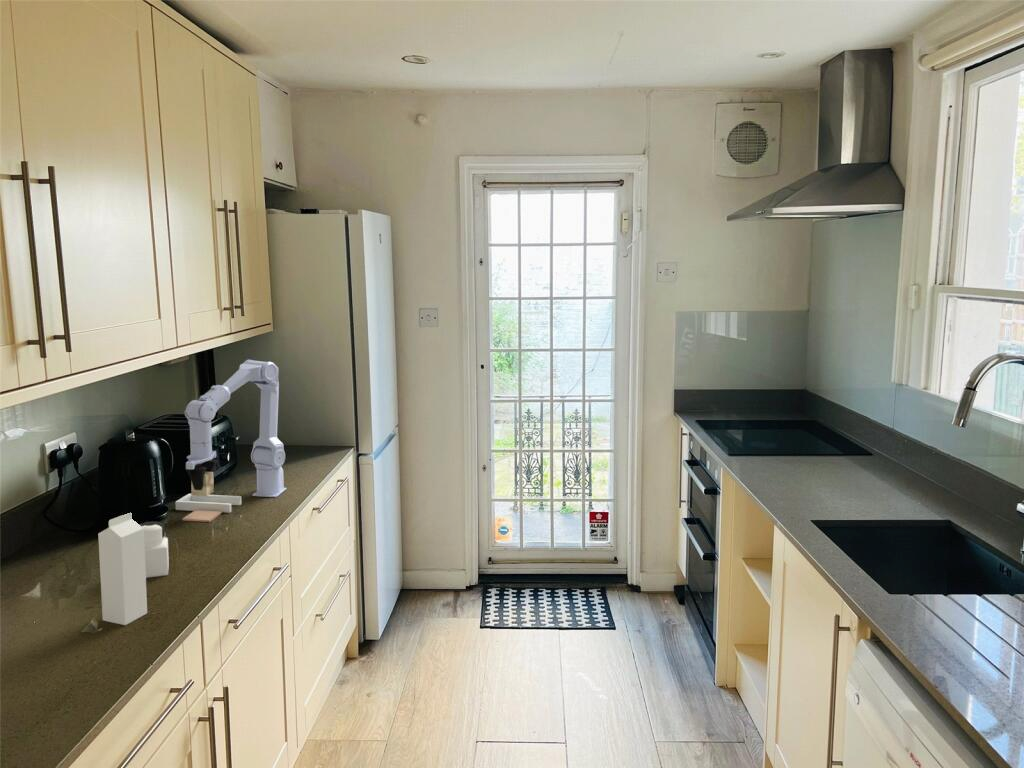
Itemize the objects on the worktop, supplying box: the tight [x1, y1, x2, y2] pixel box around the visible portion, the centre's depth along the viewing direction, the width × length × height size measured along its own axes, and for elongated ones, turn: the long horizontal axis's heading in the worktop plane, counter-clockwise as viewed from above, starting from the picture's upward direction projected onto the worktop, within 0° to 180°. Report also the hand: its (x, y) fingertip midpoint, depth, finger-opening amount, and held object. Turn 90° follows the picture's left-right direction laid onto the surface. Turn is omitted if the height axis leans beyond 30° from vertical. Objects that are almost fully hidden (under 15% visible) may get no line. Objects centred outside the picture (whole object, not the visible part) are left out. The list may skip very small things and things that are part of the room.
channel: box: [175, 493, 243, 513], centre depth 229 cm, size 8×17×2 cm, turn 86°
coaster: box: [182, 510, 223, 523], centre depth 220 cm, size 8×8×1 cm
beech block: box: [190, 471, 215, 496], centre depth 219 cm, size 4×4×6 cm
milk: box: [97, 512, 148, 626], centre depth 155 cm, size 6×6×22 cm
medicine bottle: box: [139, 520, 170, 579], centre depth 179 cm, size 7×7×12 cm
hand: (202, 487), depth 219 cm, fingers closed on beech block, 4 cm apart
